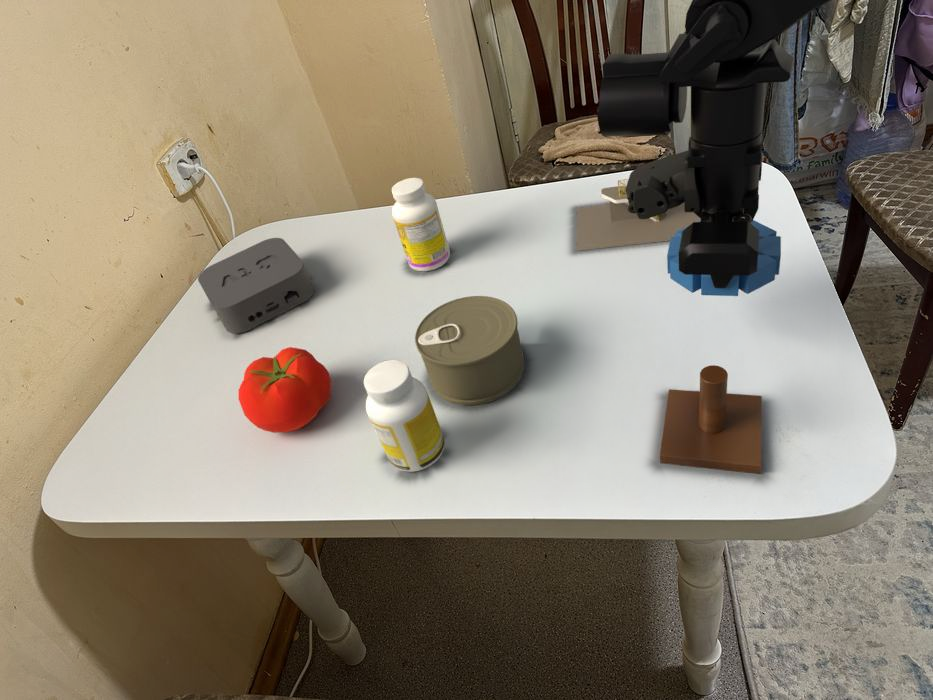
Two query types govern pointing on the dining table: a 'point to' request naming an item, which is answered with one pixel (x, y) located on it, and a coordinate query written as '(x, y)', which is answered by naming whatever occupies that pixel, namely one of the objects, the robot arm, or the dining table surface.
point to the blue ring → (747, 283)
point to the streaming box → (256, 284)
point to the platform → (626, 223)
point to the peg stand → (713, 426)
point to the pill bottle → (403, 416)
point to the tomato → (284, 390)
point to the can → (471, 349)
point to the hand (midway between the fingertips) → (720, 279)
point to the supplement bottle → (419, 225)
